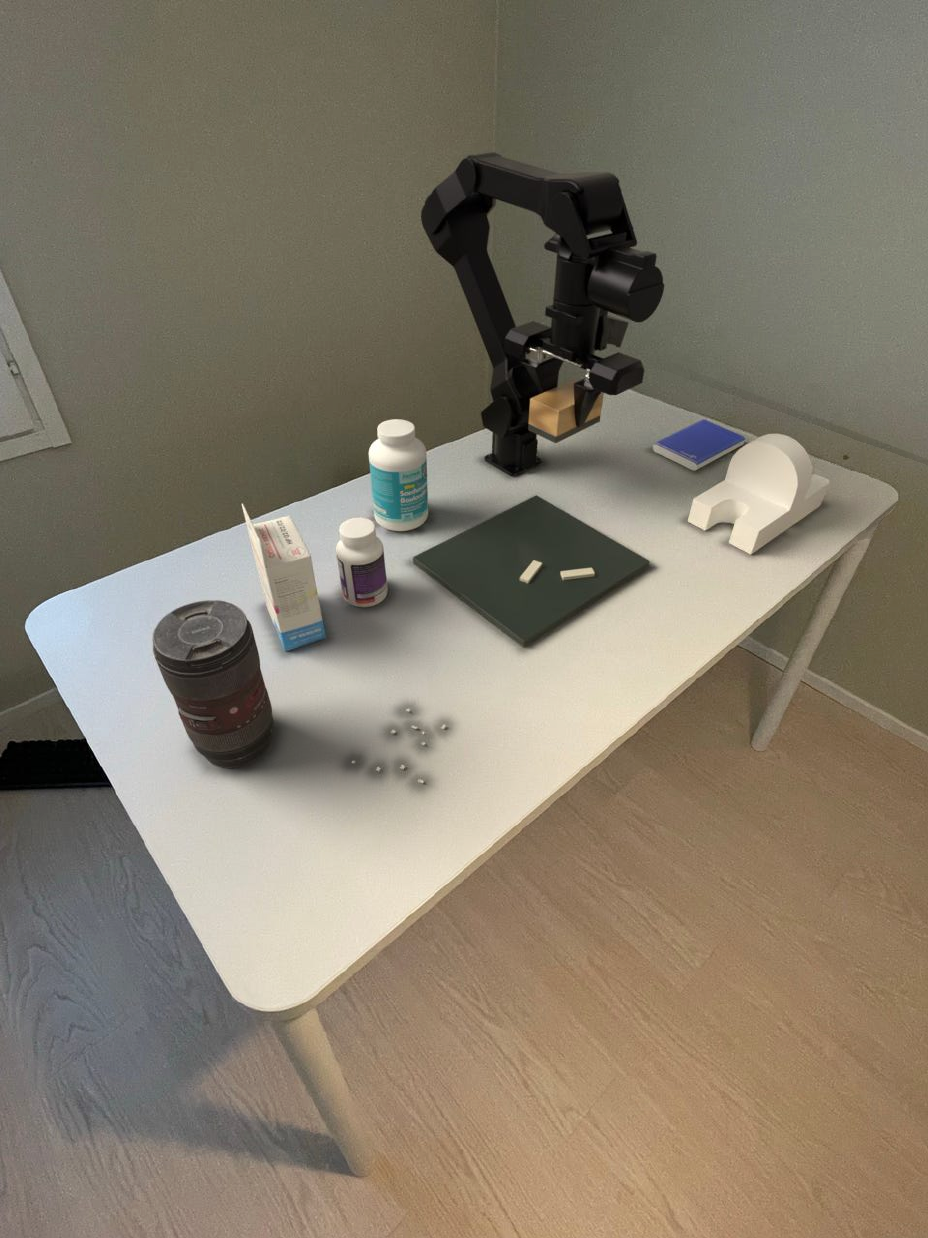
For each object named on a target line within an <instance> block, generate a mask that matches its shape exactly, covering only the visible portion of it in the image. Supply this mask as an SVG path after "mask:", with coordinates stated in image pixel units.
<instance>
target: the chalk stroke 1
mask: <svg viewBox="0 0 928 1238" xmlns="http://www.w3.org/2000/svg"><path fill="white" fill-rule="evenodd" d="M541 566H542V563H541V562H538V561H535V560H533V562H532V563H531V564H530V565H529V567H528V568H527V569H526V570H525V572H524V573H523V574H522V575H521V577H520V581H522V582H525V583H529V582H530V581H531V579H532V578H533V577H534V575H535V574H536V573H537V572H538V570H539V569H540V568H541Z"/></svg>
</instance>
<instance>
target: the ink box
mask: <svg viewBox="0 0 928 1238" xmlns="http://www.w3.org/2000/svg"><path fill="white" fill-rule="evenodd" d="M241 508H242V511H243V515H244V519H245V523H246V528H247V532H248V537H249V540H250V545H251V548H252V553H253V557H254V560H255V565H256V570H257V573H258V577H259V580H260V585H261V588H262V593H263V597H264V600H265V601H264V602H265V605H266V609H267V611H268V614H269V616H270V618H271V621H272V624H273V626H274V629H275V631H276V633H277V636H278V638H279V640H280V644H281V645H282V647H283V651H284V652H289V651H292V650H294V649H297V648H300V647H303V646H306V645H310V644H312V643H316V642H318V641H321V640H325V639H326V638H327V637H326V631H325V627H324V621H323V616H322V615H323V614H322V610H321V605H320V600H319V599H320V598H319V594H318V589H317V588H318V587H317V582H316V578H315V577H316V576H315V572H314V565H313V560H312V555H311V553H310V551H309V548H308V547H307V544H306V543H305V541H304V539H303V538H302V535H301V534H300V532H299V530H298V527H297V525H296V524H295V522H294V520H293V518H292V516H291V515H286V516H282V517H279V518H274V519H271V520H270V519H269V520H265V521H262V522H258V523H254V524H253V521H252V519H251V517H250V516H249V513H248V511H247V509H246V506H245V504H244V503H241Z"/></svg>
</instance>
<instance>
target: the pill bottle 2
mask: <svg viewBox="0 0 928 1238" xmlns="http://www.w3.org/2000/svg"><path fill="white" fill-rule="evenodd" d="M376 430H377V439H375V440H374V441H373V442H372V443H371V445H370V446H369V450H368V462H369V474H370V484H371V485H370V486H371V495H372V497H371V498H372V507H373V517H374V519H375V521H376V523H377V524H378V526H379V525H380V527H382V528H383V529H386V530H390V531H394V532H405V531H412V530H415V529H418V528H419V527H420V526H422V525H424V523H425V522H426V521H427V519H428V516H429V492H428V491H429V489H428V458H427V457H428V456H427V455H428V454H427V449H426V446H425V444H424V443H423V442H422V440H420V439H419V438H417V437H416V427H415V425H414V424H413V423H412V422H411V421H410V420H406V419H399V418H395V419H387V420H384V421H382V422H381V423H379V424H378V425H377V428H376Z"/></svg>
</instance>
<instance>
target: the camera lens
mask: <svg viewBox="0 0 928 1238" xmlns="http://www.w3.org/2000/svg"><path fill="white" fill-rule="evenodd" d="M152 653H153V656H154V659H155V661H156V663H157V666H158V669H159V672H160V674H161V676H162V679H163V681H164V683H165V685H166V687H167V689H168V691H169V692H170V694H171V695H172V697H173V700H174V703H175V705H176V707H177V710H178V711H177V712H178V715H179V719H180V721H181V722H182V725H183V728H184V730H185V733H186V735H187V737H188V738H189V740H190V741H191V742H192V744H193V746H194V748H195V750H196V751H197V752H198V753H199V754H200V755H202V756H203V757H204V758H205V759H206V760H207V761H208V762H209V763H211V764H212V765H214V766H217V767H219V768H224V769H225V768H227V769H228V768H229V769H233V768H238V767H243V766H246V765H248V764H250V763H253V762H254V761H256V760H257V759H258V758H260V757H261V756H262V755H263V754H264V753H265V751H267V749H268V747H269V746H270V744H271V742H272V737H273V728H274V717H273V708H272V707H273V706H272V702H271V699H270V695H269V692H268V689H267V688H266V683H265V679H264V676H263V673H262V669H261V659H260V653H259V650H258V646H257V642H256V638H255V633H254V630H253V627H252V624H251V621H250V620H249V619H248V617H247V616H246V613H245V612H244V610H243V609H241V608H240V607H239V606H238V605H235V604H234V603H231V602H229V601H225V600H218V599H216V600H214V599H213V600H211V599H207V600H199V601H195V602H191V603H186V604H184V605H181V606H179V607H177V608H175V609H173V610H172V611H170V612H169V613H167V614H166V615H164V616H163V617H162V618H161V619H160V620H159V621H158V623H157V624H156V626H155V627H154V629H153V632H152Z"/></svg>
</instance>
